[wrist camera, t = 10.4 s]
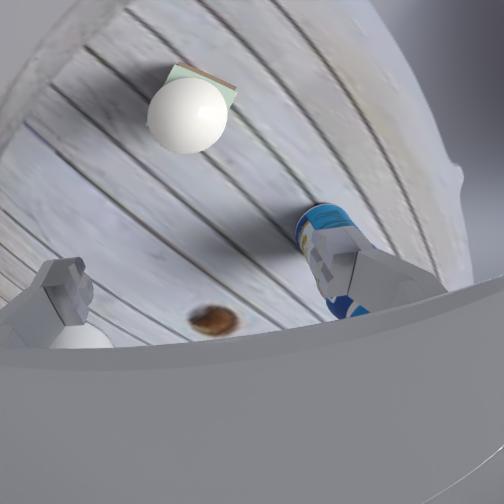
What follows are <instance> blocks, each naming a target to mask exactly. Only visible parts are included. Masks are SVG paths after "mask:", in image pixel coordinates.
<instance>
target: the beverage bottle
mask: <svg viewBox="0 0 504 504" xmlns="http://www.w3.org/2000/svg"><path fill="white" fill-rule="evenodd" d="M345 226H355V227H356V228H357V229H358V227H357V226H356V225H355V224H354V223H353V221H352V220H351V219H350V217H349V216H348V214H347V213H346V212H345V211H344V210H343V209H342V208H341V207H339V206H337V205H334V204H320V205H317V206H315V207H313V208H311V209H309V210H308V211H307V212H305V213H304V214H303V216H302V217H301V218H300V220H299V221H298V224H297V226H296V231H295V237H296V241H297V244H298V246H299V247H300V249H301V250H302V252H303V254H304V256H305V258H306V260H307V262H308V265H309V267H310V252H311V250H312V249H313V248H314V247H315V246H314V244H313V243H312V234H313V231H314V230H321V229H330V228H338V227H345ZM358 230H359V229H358ZM359 231H360V230H359ZM360 232H361V231H360ZM361 234H362V235H363V236H364V234H363V233H362V232H361ZM364 237H365V236H364ZM365 238H366V237H365ZM366 239H367V238H366ZM367 241H368V242H369V240H368V239H367ZM369 243H370V242H369ZM370 244H371V243H370ZM371 245H372V246H373V248H374V249H378V248H377V247H376V246H374V245H373V244H371ZM310 269H311V267H310ZM315 279H316V284H317V287H318V290H319V292H320V294H321V295H322V297H323V298H324V299H325V300H326V304H327V306H328V308H329V310H330V311H331V313H332V314H333V315H334V316H335V317H337V318H338V319H339V320H340V319H345V318H350V317H354V316H359V315H363V314H367V313H371V312H369V311H368V310H366V309H365V308H364V307H362V306H361V305H359V304H358V303H357V302H355V301H354V300H353V299H351V298H350V297H348V295H344V296H337V297H331V298H325V297H324V295H323V293H322V291H321V289H320V287H319V279H317V278H315Z"/></svg>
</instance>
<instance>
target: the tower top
mask: <svg viewBox="0 0 504 504" xmlns="http://www.w3.org/2000/svg"><path fill="white" fill-rule="evenodd" d="M188 77H197V78H202V79H204V80H207V81H209V82H210V83H212V84H213V85H214V86H215V87H216V88H217V89H218V91H219V92H220V93H221V95H222V96H223V98H224V100H225V103H226V106H227V111H228V109H229V108H230V106H231V104H232V102H233V101H234V99H235V97H236V96H237V94H238V92H236V91H234V90H233V89H231V88H229V87H226V86H224V85H222V84H220V83H218V82H216V81H214V80H211V79H209V78H207V77H205V76H202V75H200V74H198V73H196V72H193V71H191V70H188V69H186V68H184V67H181V66H178V65H174V66H173V68H172V70H171V72H170V74H169V76H168V78H167V80H166V82H165V84H164V86H165V85H166V84H168V83H170V82H172V81H174V80H177V79H181V78H188ZM145 127H148V128H149V126H148V121H146V124H145ZM206 150H207V148H206V149H204V150H203V151H206Z"/></svg>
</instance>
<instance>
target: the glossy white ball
mask: <svg viewBox="0 0 504 504" xmlns="http://www.w3.org/2000/svg"><path fill="white" fill-rule="evenodd" d="M147 121H148V126H149V130H150V132H151V134H152V136H153V138H154V139H155V140H156V141H157V142H158V143H159V144H160V145H161V146H162V147H164V148H165V149H167V150H169V151H172V152H175V153H180V154H191V153H196V152H200V151H202V150H204V149H206V148H208V147H210V146H211V145H212V144H214V143H215V142H216V141H217V140H218V138H219V137H220V136H221V134H222V133H223V131H224V129H225V126H226V122H227V106H226V103H225V100H224V98H223V96H222V95H221V93H220V92H219V91H218V89H217V88H216V87H215V86H214V85H213V84H212V83H210V82H209V81H207V80H204V79H202V78H197V77H188V78H181V79H177V80H174V81H172V82H170V83H168V84H166V85H165V86H163V87H162V88H161V89H160V90H159V91H158V92H157V93H156V94H155V95H154V97H153V99H152V100H151V103H150V105H149V109H148V114H147Z"/></svg>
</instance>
